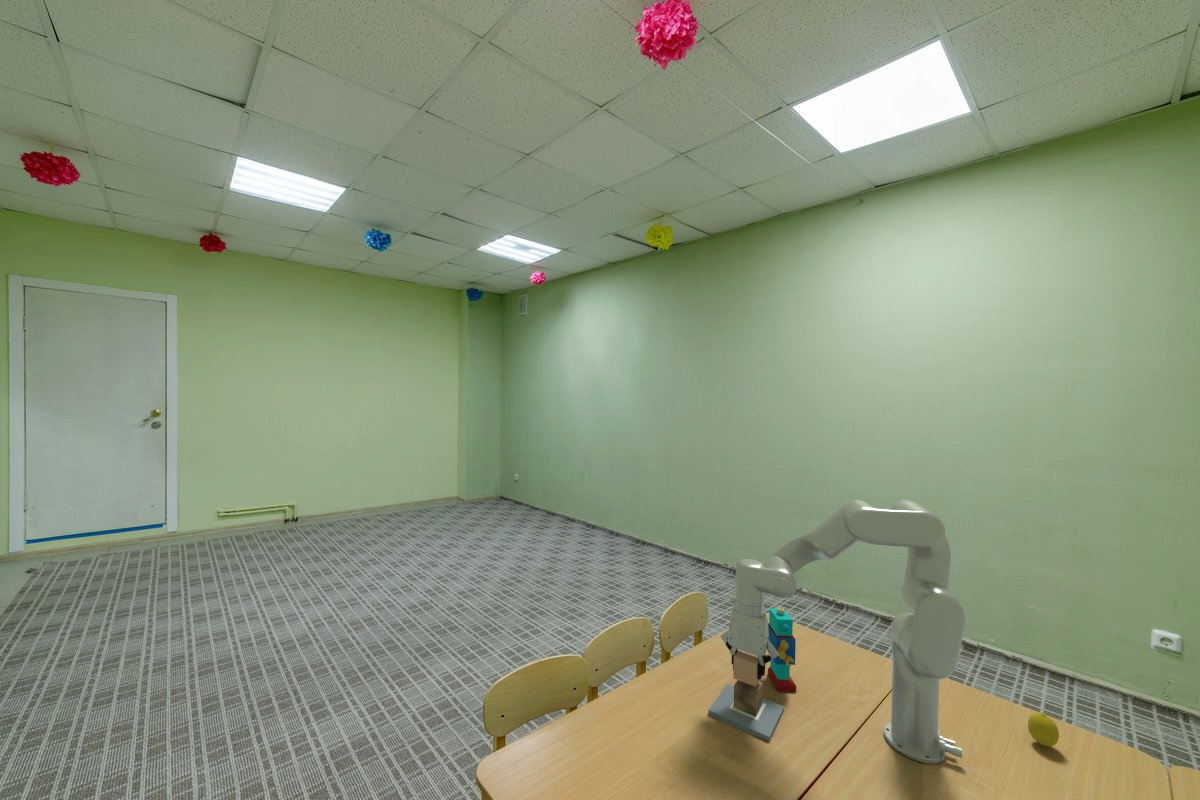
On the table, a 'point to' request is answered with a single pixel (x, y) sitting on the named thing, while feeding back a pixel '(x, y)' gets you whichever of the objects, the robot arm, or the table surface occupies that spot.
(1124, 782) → the table surface
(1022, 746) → the table surface
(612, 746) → the table surface
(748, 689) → the walnut block
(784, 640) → the toy robot
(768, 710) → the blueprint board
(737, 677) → the terracotta block
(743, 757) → the table surface
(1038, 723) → the lemon
